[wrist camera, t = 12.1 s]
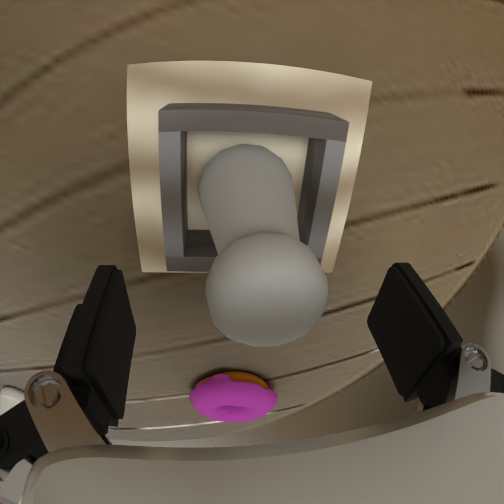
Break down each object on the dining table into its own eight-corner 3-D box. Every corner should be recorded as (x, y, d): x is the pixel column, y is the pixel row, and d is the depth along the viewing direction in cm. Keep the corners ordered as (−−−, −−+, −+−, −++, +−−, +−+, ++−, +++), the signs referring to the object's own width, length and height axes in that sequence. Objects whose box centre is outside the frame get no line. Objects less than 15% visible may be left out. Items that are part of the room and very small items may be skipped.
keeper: (133, 64, 17) (108, 64, 12) (363, 80, 18) (398, 86, 14) (145, 261, 25) (133, 300, 21) (327, 262, 27) (344, 300, 23)
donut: (177, 381, 36) (175, 411, 32) (240, 352, 34) (243, 385, 30) (227, 408, 41) (229, 435, 38) (286, 385, 39) (292, 413, 35)
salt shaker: (185, 189, 21) (152, 338, 10) (230, 119, 18) (244, 205, 8) (254, 227, 23) (285, 381, 12) (301, 166, 20) (388, 291, 10)
